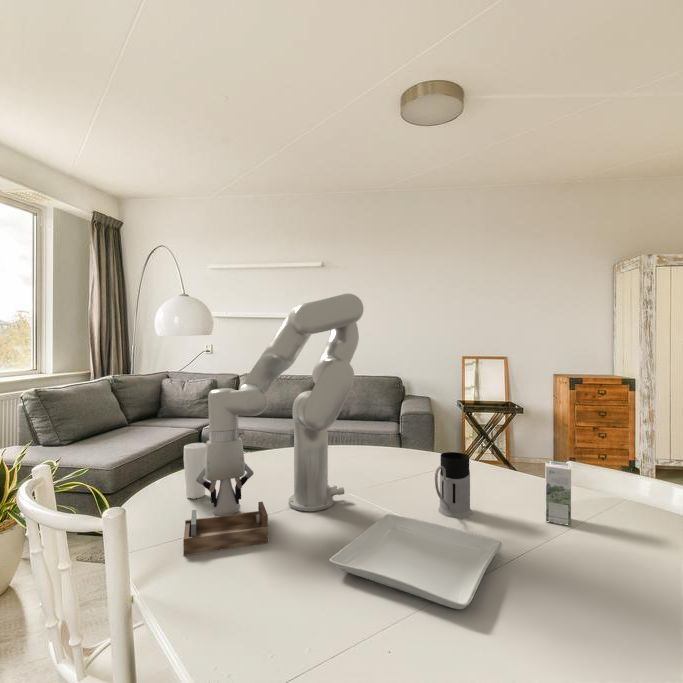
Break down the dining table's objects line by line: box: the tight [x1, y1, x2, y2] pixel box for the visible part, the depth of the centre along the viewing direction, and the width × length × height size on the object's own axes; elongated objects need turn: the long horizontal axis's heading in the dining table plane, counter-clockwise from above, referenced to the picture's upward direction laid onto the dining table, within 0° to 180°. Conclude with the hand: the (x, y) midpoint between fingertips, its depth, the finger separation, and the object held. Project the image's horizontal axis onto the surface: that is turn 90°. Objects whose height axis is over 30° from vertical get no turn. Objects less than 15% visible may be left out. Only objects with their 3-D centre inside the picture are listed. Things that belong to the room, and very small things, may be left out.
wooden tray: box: [182, 501, 269, 556], centre depth 98 cm, size 18×10×6 cm, turn 108°
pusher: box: [190, 509, 197, 537], centre depth 96 cm, size 1×8×5 cm, turn 19°
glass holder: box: [434, 451, 473, 519], centre depth 112 cm, size 9×14×15 cm, turn 137°
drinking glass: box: [183, 442, 207, 500], centre depth 125 cm, size 7×7×15 cm
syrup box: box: [544, 460, 572, 525], centre depth 108 cm, size 6×6×14 cm
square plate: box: [329, 513, 503, 610], centre depth 87 cm, size 27×27×4 cm
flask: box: [211, 479, 241, 516], centre depth 112 cm, size 7×7×10 cm
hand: (226, 503), depth 112 cm, fingers closed on flask, 5 cm apart
